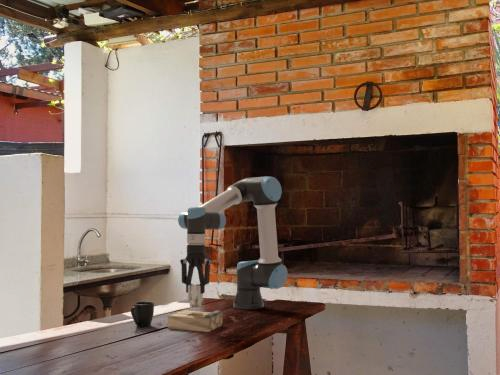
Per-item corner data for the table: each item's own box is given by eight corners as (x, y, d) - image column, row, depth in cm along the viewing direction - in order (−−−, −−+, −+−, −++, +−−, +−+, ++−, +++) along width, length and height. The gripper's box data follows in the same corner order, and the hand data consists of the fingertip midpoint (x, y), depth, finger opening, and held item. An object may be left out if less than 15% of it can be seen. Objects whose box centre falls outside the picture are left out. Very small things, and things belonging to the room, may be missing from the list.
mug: (123, 328, 225) (123, 304, 226) (142, 323, 236) (142, 300, 236) (139, 330, 221) (139, 306, 222) (157, 325, 232) (157, 302, 232)
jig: (183, 322, 239) (183, 307, 239) (222, 325, 233) (222, 310, 233) (167, 328, 226) (167, 313, 226) (208, 331, 219) (208, 315, 220)
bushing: (192, 305, 232) (193, 283, 233) (202, 306, 231) (202, 284, 231) (188, 306, 228) (188, 284, 229) (197, 307, 227) (198, 285, 227)
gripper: (173, 244, 230) (172, 301, 229) (211, 245, 224) (210, 303, 223) (181, 243, 237) (180, 298, 236) (218, 244, 231) (217, 301, 230)
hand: (195, 301), depth 229 cm, fingers closed on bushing, 4 cm apart
